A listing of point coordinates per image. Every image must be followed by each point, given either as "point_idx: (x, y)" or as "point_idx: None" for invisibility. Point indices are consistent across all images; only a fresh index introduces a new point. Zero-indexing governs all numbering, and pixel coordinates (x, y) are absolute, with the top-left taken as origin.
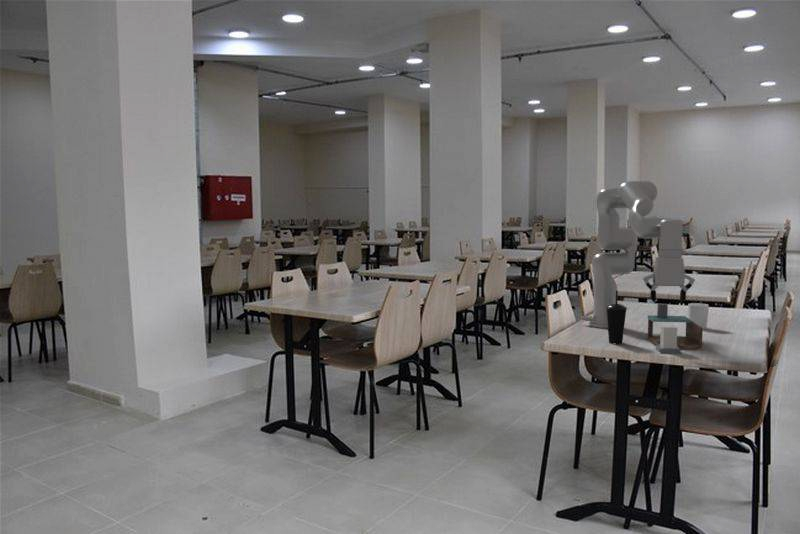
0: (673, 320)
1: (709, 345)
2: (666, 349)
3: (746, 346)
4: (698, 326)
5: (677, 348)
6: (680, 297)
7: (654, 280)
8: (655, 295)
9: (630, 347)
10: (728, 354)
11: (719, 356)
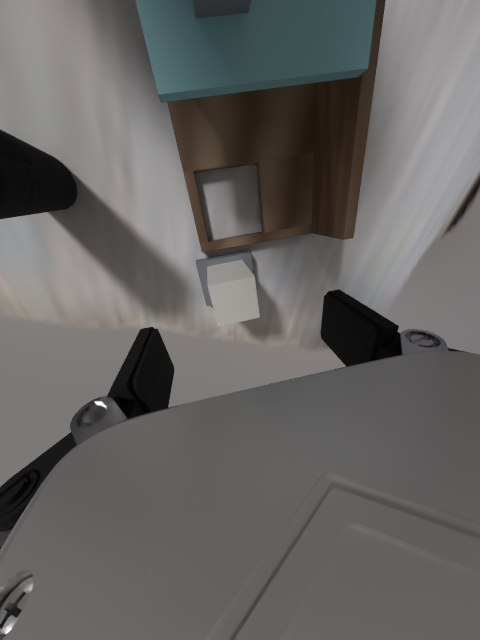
0: (276, 83)
1: None
2: None
3: (460, 131)
4: (350, 207)
5: None
6: (337, 317)
7: (56, 487)
8: (165, 403)
9: (123, 254)
10: (356, 268)
11: None
